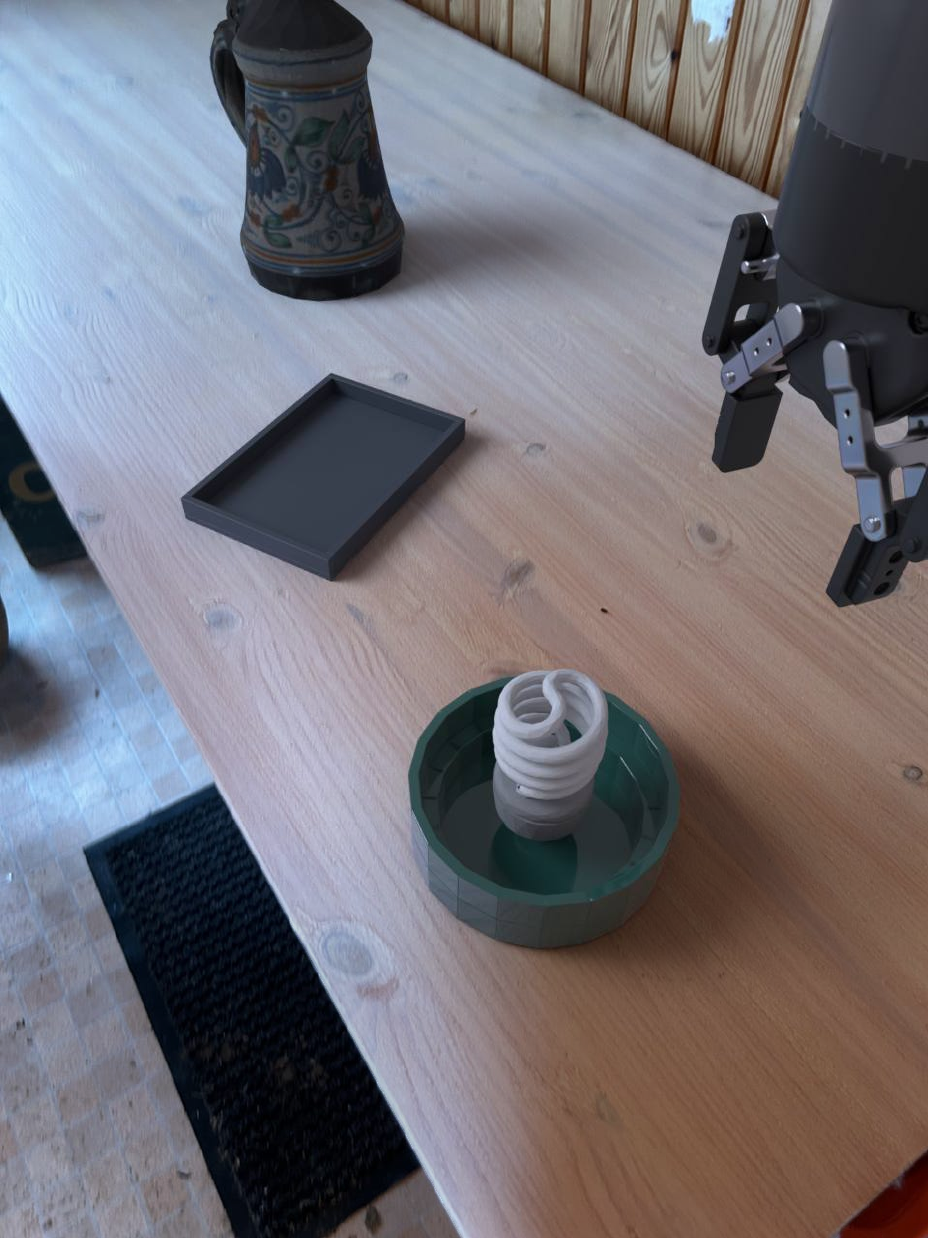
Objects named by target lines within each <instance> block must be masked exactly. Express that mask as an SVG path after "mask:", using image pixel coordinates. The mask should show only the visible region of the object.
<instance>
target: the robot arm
mask: <svg viewBox="0 0 928 1238" xmlns="http://www.w3.org/2000/svg"><path fill="white" fill-rule="evenodd" d="M820 39H821V40H820V44H819V47H818V50H817V55H816V59H815V63H814V65H813V66H814V67H813V69H812V70H813V71H812V73H811V77H810V81H809V85H808V89H807V93H806V97H805V100H804V103H803V108H802V111H801V116H800V118H799V119H800V120H799V124H798V127H797V131H796V135H795V139H794V143H793V147H792V150H791V154H790V157H789V162H788V166H787V169H786V173H785V177H784V180H783V184H782V188H781V191H780V196H779V199H778V204H777V207H776V208H774V209H767V210H761V211H754V212H748V213H742V214H737V215H736V216H735V217H734V218H733V220H732V222H731V226H730V230H729V234H728V238H727V241H726V245H725V249H724V252H723V255H722V260H721V264H720V267H719V271H718V274H717V277H716V282H715V286H714V289H713V292H712V296H711V300H710V304H709V308H708V310H707V311H708V312H707V316H706V319H705V322H704V326H703V329H702V334H701V343H702V348H703V350H704V353H705V354H706V355H707V356H709V357H713V356H718V358H719V359H720V362H721V364H722V366H721V369H720V382H721V386H722V388H723V389H724V391H725V393H724V397H723V401H722V404H721V408H720V411H719V416H718V420H717V423H716V427H715V430H714V431H715V432H714V447H713V451H712V454H711V461H712V463H713V465H715V466H716V468H717V469H718V470H719V471H720V472H721V473H723V474H727V473H732V472H735V471H740V470H745V469H749V468H753V467H755V466H757V465H758V464H760V463H761V461H762V460H763V459H764V457H765V454H766V450H767V448H768V444H769V441H770V437H771V434H772V431H773V428H774V424H775V422H776V418H777V415H778V412H779V409H780V405H781V402H782V398H783V395H784V392H783V391H782V390H781V389H780V388H779V387H778V386H777V385H776V384H780V383H784V382H785V381H788V382H787V383H788V385H789V386H790V387H792V389H794V391H795V392H796V393H798V394H799V395H800V396H802V397H805V398H807V399H809V400H811V401H812V402H814V404H815V406H816V407H817V408H818V410H819V412H820V414H821V415H822V416H823V418H824V419H825V420H826V421H827V422H828V423H829V424H830V425H831V426H832V427H833V428H834V429H835V430H836V431H837V439H838V448H839V457H840V465H841V468H842V470H843V471H844V472H845V473H846V474H847V475H851V476H852V477H853V478H854V481H855V487H856V497H857V506H858V516H859V522H858V523H854V524H852V527H851V529H850V532H849V534H848V537H847V539H846V541H845V544H844V546H843V548H842V551H841V553H840V556H839V558H838V560H837V563H836V565H835V567H834V569H833V572H832V574H831V577H830V579H829V581H828V583H827V586H826V588H825V594H826V595H827V596H828V598H829V599H830V600H831V601H832V602H833V603H834V604H835V606H836V607H837V608H846V607H849V606H858V605H862V604H865V603H869V602H873V601H877V600H879V599H884V598H887V597H888V596H890V595H891V594H892V593H894V592H895V590H896V588H897V586H898V584H899V582H900V580H901V579H902V577H903V574H904V571H906V568H907V566H908V565H909V562H910V563H920V562H924V561H928V0H831V4H830V6H829V10H828V13H827V17H826V19H825V25H824V29H823V31H822V36H821V38H820ZM744 306H748V308H747V311H746V314H745V317H744V319H739V320H736V318H737V314H738V311H739V310H741V308H743V307H744ZM906 417H907V431H906V433H905V435H904V437H903V438H902V439H900V440H898V441H894V442H889V443H885V444H881V445H880V444H879V442H877V438H876V433H875V428H878V427H881V426H887V425H890V424H894V423H896V422H899V421H901V420H902V419H904V418H906ZM899 468H900V469H901V474H902V483H903V494H904V497H902V498H899V499H895V500H894V496H893V493H894V492H893V486H892V485H893V484H892V475H893V472H894V471H895V470H896V469H899Z"/></svg>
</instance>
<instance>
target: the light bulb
mask: <svg viewBox="0 0 928 1238" xmlns="http://www.w3.org/2000/svg"><path fill="white" fill-rule="evenodd" d="M515 677H516V678H514V679H512V680H511V681H510V682H509V683H508V684H507V685H506V686H505V687H504V689H503V690H502V692H501V694H500V696H499V699H498V707H497V709H496V712H495V717H494V724H495V725H494V728H493V742H494V746H495V747H494V751H495V757H496V760H497V761H496V764H495V768H494V773H493V791H494V799H495V806H496V810H497V812H498V815H499V817H500V818H501V820H502V821H503V822H504V824H505V825H506V826H507V827H508V828H509V829H510V830H512V831H513V832H515V833H516V834H518V835H520V836H521V837H524V838H528V839H531V840H536V841H550V840H558V839H560V838H562V837H565V836H567V835H569V834H570V833H571V832H573V831H574V830H575V829H576V828H577V827H579V826H580V825H581V823H582V821H583V819H584V817H585V815H586V813H587V811H588V808H589V805H590V803H591V799H592V795H593V790H594V785H595V784H594V782H595V780H594V774H595V773H596V771H597V768H598V765H599V763H600V762H601V760H602V758H603V755H604V752H605V747H606V740H607V735H608V704H607V701H606V698H605V695H604V693H603V691H602V690H603V689H602V688H601V687H600V685H599V683H598V682H597V681H596V680H594V679H593V678H592V677H590V676H589V675H588V674H585V673H584V672H581V671H578V670H574V669H570V668H561V669H560V668H559V669H556V670H554V671H553V670H542V669H539V670H534V671H533V670H532V671H528V672H525V673H524V672H523V673H521V674H520V675H518V677H517V676H515ZM531 712H547V713H531ZM527 713H529V714H527ZM548 713H550V714H548ZM564 719H566V720H568V721H569V722H570V723H571V724H573V725H574V726H575V727H576V728H577V729H578V731H579V732H580V733H581V735H582V737H581V738H579V739H578V740H576V741H575V742H571V741H570V735H569V731H568V729H567V728H566V726H565V724H564V723H563V721H564ZM553 733H554V734H555V735H556V736H555V735H551V734H553Z"/></svg>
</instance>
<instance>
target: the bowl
mask: <svg viewBox="0 0 928 1238" xmlns="http://www.w3.org/2000/svg"><path fill="white" fill-rule="evenodd" d="M518 676H519V675H518ZM518 676H506V677H501V678H498V679H495V680H493V681H490V682H487V683H484V684H482V685H478V686H475V687H473V688H469V689H468V690H466V691H465V692H463V693H461V695H459V696H458V697H456V698H455V699H453V700H452V701H450V702H449V703H448V704H446V705H445V706H444V707H442V708H441V709H440V710H438V711H437V713H436V714H435V715H434V716H433V718H432V719H431V721H430V722H429V724H428V725H427V726H426V727H425V729H424V730H423V732H422V733H421V734H420V735H419V737H418V739H417V740H416V743H415V747H414V750H413V753H412V757H411V761H410V764H409V767H408V771H407V788H408V805H409V807H408V808H409V823H410V834H411V847H412V854H413V858H414V860H415V863H416V865H417V867H418V869H419V871H420V873H421V875H422V878H423V880H424V882H425V884H426V886H427V888H428V890H429V891H430V893H432V895H434V896H435V897H436V899H437V900H438V901H439V902H440V903H441V904H442V905H443V907H445V908H446V909H447V910H448V911H449V912H450V913H451V914H452V915H453V917H455V918H456V920H459V921H460V922H462V923H464V924H466V925H468V926H470V927H471V928H473V929H475V930H476V931H479V932H481V933H482V934H484V935H486V936H488V937H489V938H491V939H493V940H496V941H499V942H505V943H509V944H514V945H519V946H525V947H529V948H534V949H547V948H559V947H565V946H566V947H567V946H575V945H576V946H577V945H583V944H585V943H587V942H590V941H592V940H594V939H596V938H599V937H601V936H603V935H605V934H607V933H610V932H612V931H614V930H616V929H619V928H620V927H621V926H623V924H625V923H626V922H627V921H628V920H629V919H630V918H631V917H632V916H633V915H634V914H635V913H636V912H637V911H638V910H639V909H641V907H642V906H644V904H645V903H646V902H647V901H648V900H649V898H650V896H651V895H652V892H653V889H654V887H655V885H656V884H657V882H658V879H659V878H660V875H661V872H662V871H663V868H664V865H665V862H666V859H667V857H668V854H669V850H670V848H671V845H672V842H673V839H674V837H675V834H676V830H677V828H678V823H679V815H680V814H679V813H680V799H681V784H680V780H679V777H678V774H677V771H676V767H675V764H674V761H673V757H672V755H671V752H670V749H669V748H668V747H667V745H666V744H665V742H664V741H663V739H662V738H661V737H660V735H659V734H658V733H657V731H656V730H655V729H654V727H653V726H652V724H651V723H650V722H649V721H648V720H647V718H645V717H644V716H643V715H642V714H640V713H639V712H638V711H636V710H635V709H634V708H633V707H631V706H630V705H629V704H628V703H626V702H625V701H624V700H622V699H621V698H620V697H618V696H617V695H616V694H613V693H610V692H608V691H606V690H603V689H602V691H603V693H604V695H605V698H606V701H607V704H608V735H607V740H606V747H605V752H604V755H603V758H602V760H601V762H600V763H599V765H598V768H597V771H596V773H595V774H594V780H595V782H594V784H595V785H594V790H593V795H592V799H591V803H590V805H589V808H588V811H587V813H586V815H585V817H584V819H583V821H582V823H581V825H580V826H579V827H577V828H576V829H575V830H574V831H573V832H571V833H570V834H569V835H567V836H565V837H562V838H560V839H558V840H550V841H536V840H531V839H528V838H524V837H521V836H520V835H518V834H516V833H515V832H513V831H512V830H510V829H509V828H508V827H507V826H506V825H505V824H504V822H503V821H502V820H501V818H500V817H499V815H498V812H497V810H496V806H495V799H494V791H493V773H494V768H495V764H496V761H497V760H496V757H495V751H494V747H495V746H494V742H493V728H494V725H495V724H494V717H495V712H496V709H497V707H498V699H499V696H500V694H501V692H502V690H503V689H504V687H505V686H506V685H507V684H508V683H509V682H510V681H511V680H512V679H514V678H516V677H518ZM531 713H547V712H531ZM527 714H529V713H527ZM548 714H550V713H548ZM563 723H564V724H565V726H566V728H567V729H568V731H569V735H570V741H571V742H575V741H576V740H578V739H579V738H581V737H582V735H581V733H580V732H579V731H578V729H577V728H576V727H575V726H574V725H573V724H571V723H570V722H569V721H568V720H566V719H564V721H563ZM551 735H555V734H554V733H553V734H551ZM555 736H556V735H555Z"/></svg>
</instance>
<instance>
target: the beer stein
mask: <svg viewBox="0 0 928 1238" xmlns="http://www.w3.org/2000/svg"><path fill="white" fill-rule="evenodd" d="M225 10H226V11H225V12H226V15H225V16H226V18H225V19H223V20H220V21H219V22H218V23H217V24H216V27H215V29H214V30H213V32H212V33H213V38H212V42H211V45H210V48H209V67H210V73H211V77H212V81H213V85H214V88H215V91H216V93H217V96H218V100H219V102H220V104H221V106H222V108H223V110H224V113H225V115H226V116H227V119H228V121H229V124H231V127H232V128H233V130H234V132H235V133H236V135H237V136H238V138H239V140H240V142H241V143H242V145H243V147H244V149H245V155H246V157H245V161H246V162H245V196H244V197H245V198H244V201H245V202H244V211H243V219H242V222H241V227H240V231H239V243H240V247H241V250H242V253H243V255H244V257H245V259H246V262H247V265H248V269H249V272H250V275H251V276H252V278H253V279H254V280H255V281H256V282H257V284H259V285H260V286H261V287H263V288H264V289H265V290H268V291H269V292H272V293H275V294H278V295H281V296H284V297H287V298H291V299H297V300H303V301H313V302H323V301H333V300H343V299H351V298H355V297H358V296H360V295H364V294H366V293H367V294H368V293H370V292H372V291H376V290H379V289H381V288H382V287H383V286H385V285H386V284H387V283H389V282H390V281H392V280H393V279H394V278H396V276H398V275H399V274H401V271H402V270H401V269H402V257H403V248H404V240H405V238H406V228H405V224H404V220H403V218H402V216H401V214H400V213H399V211H398V210H397V207H396V205H395V202H394V199H393V196H392V193H391V188H390V185H389V181H388V177H387V173H386V170H385V169H386V168H385V164H384V159H383V155H382V150H381V144H380V140H379V134H378V129H377V128H378V127H377V123H376V119H375V113H374V107H373V103H372V96H371V91H370V86H369V79H368V66H369V65H370V62H371V59H372V54H373V45H374V40H373V36H372V34H371V32H370V31H369V29H367V28H366V26H365V25H364V23H363V22H362V21H361V20H360V19H359V18H357V17H356V16H355V15H354V14H353V13H351V12H350V11H349V10H348V9H347V8H345V7H344V6H343V5H341V4H340V3H339V2H338V1H336V0H227V2H226V6H225Z"/></svg>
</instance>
